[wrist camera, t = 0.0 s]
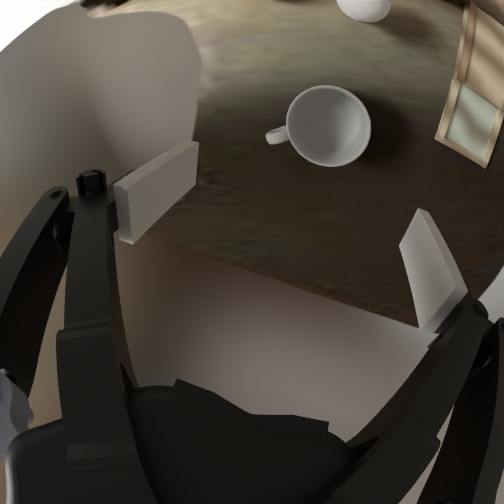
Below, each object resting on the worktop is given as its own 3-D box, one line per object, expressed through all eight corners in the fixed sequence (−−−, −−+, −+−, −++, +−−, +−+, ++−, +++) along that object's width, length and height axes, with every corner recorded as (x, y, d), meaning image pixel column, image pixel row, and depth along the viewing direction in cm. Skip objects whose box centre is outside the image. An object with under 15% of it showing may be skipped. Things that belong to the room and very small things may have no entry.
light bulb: (333, -7, 23) (334, -34, 14) (378, -1, 21) (393, -24, 13) (335, 29, 27) (337, 11, 18) (380, 36, 25) (397, 21, 17)
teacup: (360, 84, 31) (369, 85, 25) (364, 153, 37) (372, 169, 31) (267, 88, 35) (254, 90, 29) (277, 154, 41) (266, 169, 35)
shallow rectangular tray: (464, 2, 15) (470, 0, 13) (513, 39, 14) (520, 39, 12) (434, 138, 32) (439, 141, 30) (482, 166, 31) (488, 171, 29)
